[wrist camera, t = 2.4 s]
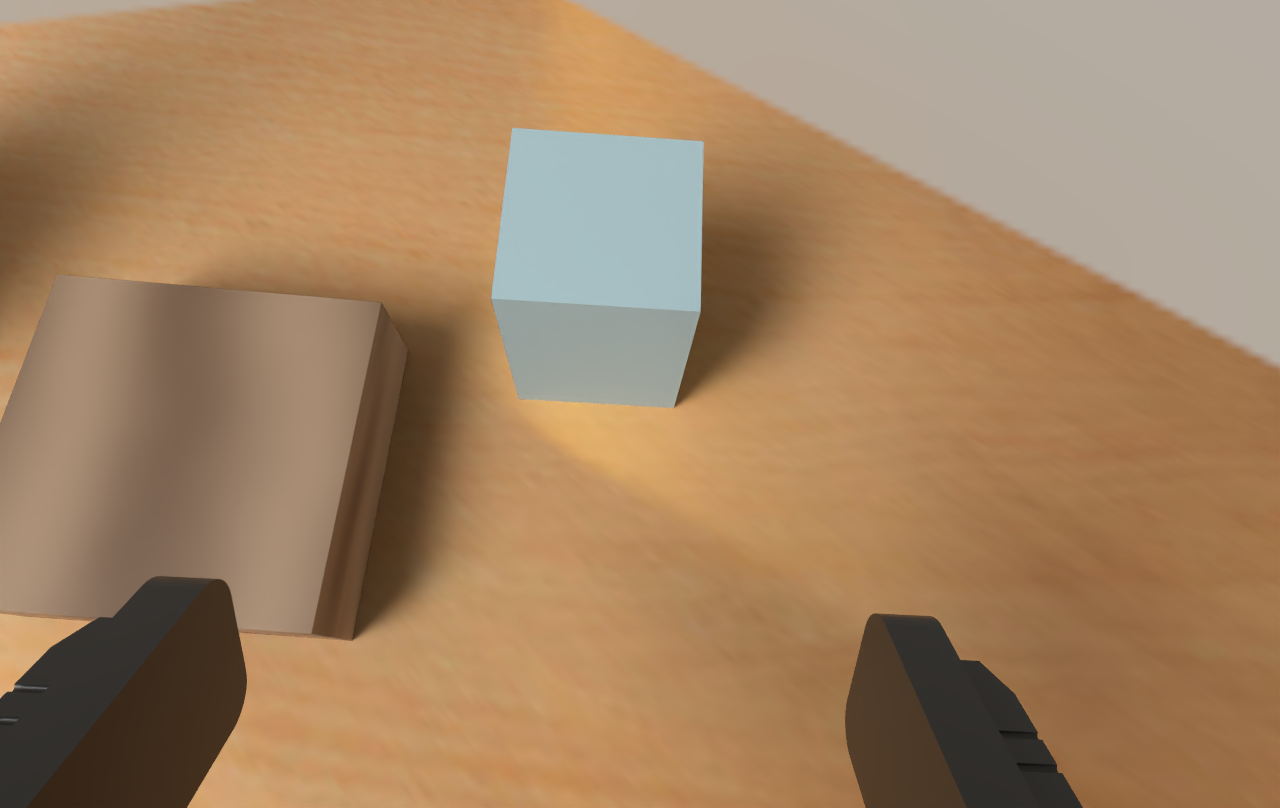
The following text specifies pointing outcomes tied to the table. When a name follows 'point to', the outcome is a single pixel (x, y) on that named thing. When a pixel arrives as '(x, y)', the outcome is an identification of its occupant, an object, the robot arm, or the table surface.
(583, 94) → the table surface
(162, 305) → the walnut block
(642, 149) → the light blue block
